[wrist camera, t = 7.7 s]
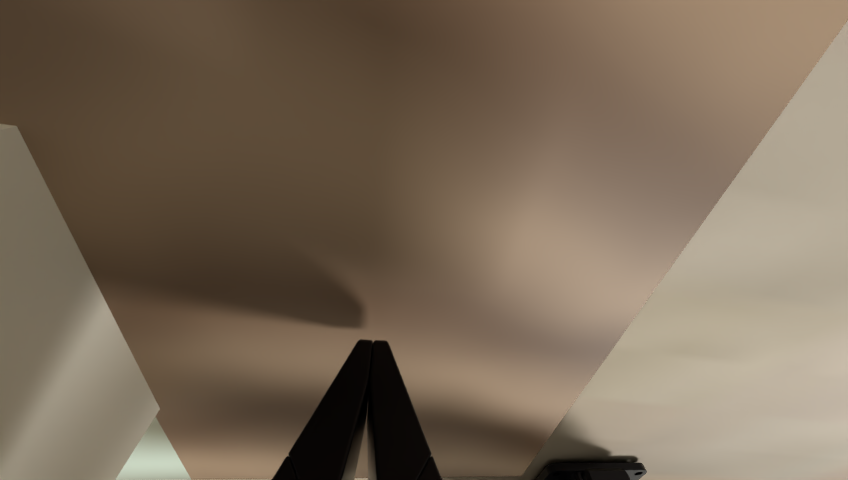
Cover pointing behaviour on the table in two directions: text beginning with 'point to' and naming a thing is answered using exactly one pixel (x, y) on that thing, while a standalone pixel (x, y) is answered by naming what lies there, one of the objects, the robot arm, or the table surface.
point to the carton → (58, 344)
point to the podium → (387, 194)
